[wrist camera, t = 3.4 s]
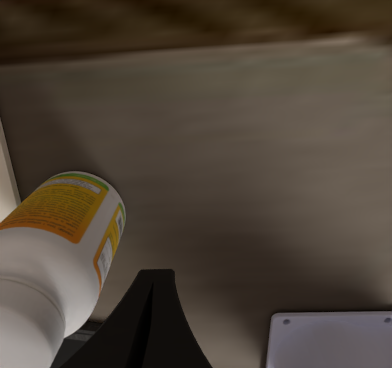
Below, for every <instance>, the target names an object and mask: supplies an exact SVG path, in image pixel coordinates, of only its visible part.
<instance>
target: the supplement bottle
mask: <svg viewBox="0 0 392 368" xmlns="http://www.w3.org/2000/svg"><path fill="white" fill-rule="evenodd" d="M125 220H126V213H125V207H124V204H123V201H122V199H121V197H120V195H119V194H118V193H117V191H116V190H115V189H114V188H113V187H112V186H111V185H110V184H109V183H107V182H106V181H105V180H103V179H101V178H100V177H97V176H95V175H93V174H90V173H86V172H80V171H69V172H63V173H60V174H57V175H55V176H53V177H51V178H49V179H48V180H46V181H45V182H44V183H42V184H41V185H40V186H39V187H38V188H37V189H36V190H35V191H34V192H33V193H31V195H29V196H28V197H27V198H26V199H25V200H24V201H23V202H22V203H21V204H20V205H19V206H18V207H17V208H15V209H14V210H13V211H12V212H11V213H10V214H9V215H8V216H7V217H6V218H5V219H4V220H3V221H2V222H1V223H0V368H50V366H51V364H52V362H53V360H54V358H55V356H56V354H57V352H58V349H59V348H60V346H61V344H62V342H63V339H64V338H65V337H67V336H69V335H71V334H72V333H74V332H75V331H77V330H78V329H79V328H80V327H81V326H82V325H83V324H84V323H85V322H86V321H87V319H88V318H89V316H90V315H91V313H92V312H93V309H94V307H95V305H96V303H97V300H98V298H99V295H100V292H101V289H102V287H103V284H104V281H105V279H106V276H107V273H108V270H109V268H110V265H111V262H112V260H113V257H114V254H115V252H116V249H117V246H118V243H119V241H120V238H121V235H122V232H123V229H124V226H125Z"/></svg>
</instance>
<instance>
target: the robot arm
mask: <svg viewBox="0 0 392 368" xmlns="http://www.w3.org/2000/svg"><path fill="white" fill-rule="evenodd" d="M286 319H288V320H286ZM284 320H286V321H284ZM59 368H212V366H211V365H210V363H209V362H208V360H207V358H206V357H205V355H204V354H203V352H202V350H201V348H200V347H199V345H198V343H197V341H196V339H195V337H194V335H193V333H192V331H191V329H190V327H189V325H188V322H187V320H186V317H185V315H184V312H183V310H182V307H181V304H180V301H179V298H178V294H177V290H176V285H175V272H174V271H173V270H172V269H146V270H140V271H139V273H138V274H137V276H136V278H135V280H134V281H133V283H132V284H131V286H130V288H129V289H128V291H127V292H126V294H125V295H124V296H123V298H122V299H121V301H120V302H119V303H118V305H117V306H116V308H115V309H114V310H113V311H112V313H111V314H110V315H109V316H108V318H107V319H106V320H105V321H104V323H103V324H102V325H101V326H100V327H99V328H98V330H97V331H96V332H95V333H94V334H93V335H92V336H91V337H90V338H89V339H88V340H87V341H86V343H85V344H84V345H83V346H81V347H80V348H79V349H78V350H77V351H76V352H75V353H74V354H73V355H72V356H71V357H70V358H69V359H68V360H67V361H66V362H64V363H63V364H62V365H61V366H60V367H59ZM266 368H392V311H373V312H307V313H276V314H274V315H273V316H272V317H271V324H270V333H269V342H268V352H267V361H266Z"/></svg>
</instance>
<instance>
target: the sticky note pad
mask: <svg viewBox="0 0 392 368" xmlns="http://www.w3.org/2000/svg"><path fill="white" fill-rule="evenodd" d="M20 204H21V200H20V196H19V192H18V188H17V184H16V180H15V176H14V172H13V168H12V164H11V160H10V156H9V152H8V148H7V143H6V139H5V135H4V131H3V127H2V123H1V119H0V223H1V222H2V221H3V220H4V219H5V218H6V217H7V216H8V215H9V214H10V213H11V212H12V211H13V210H14V209H15V208H17V207H18V206H19V205H20Z"/></svg>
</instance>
